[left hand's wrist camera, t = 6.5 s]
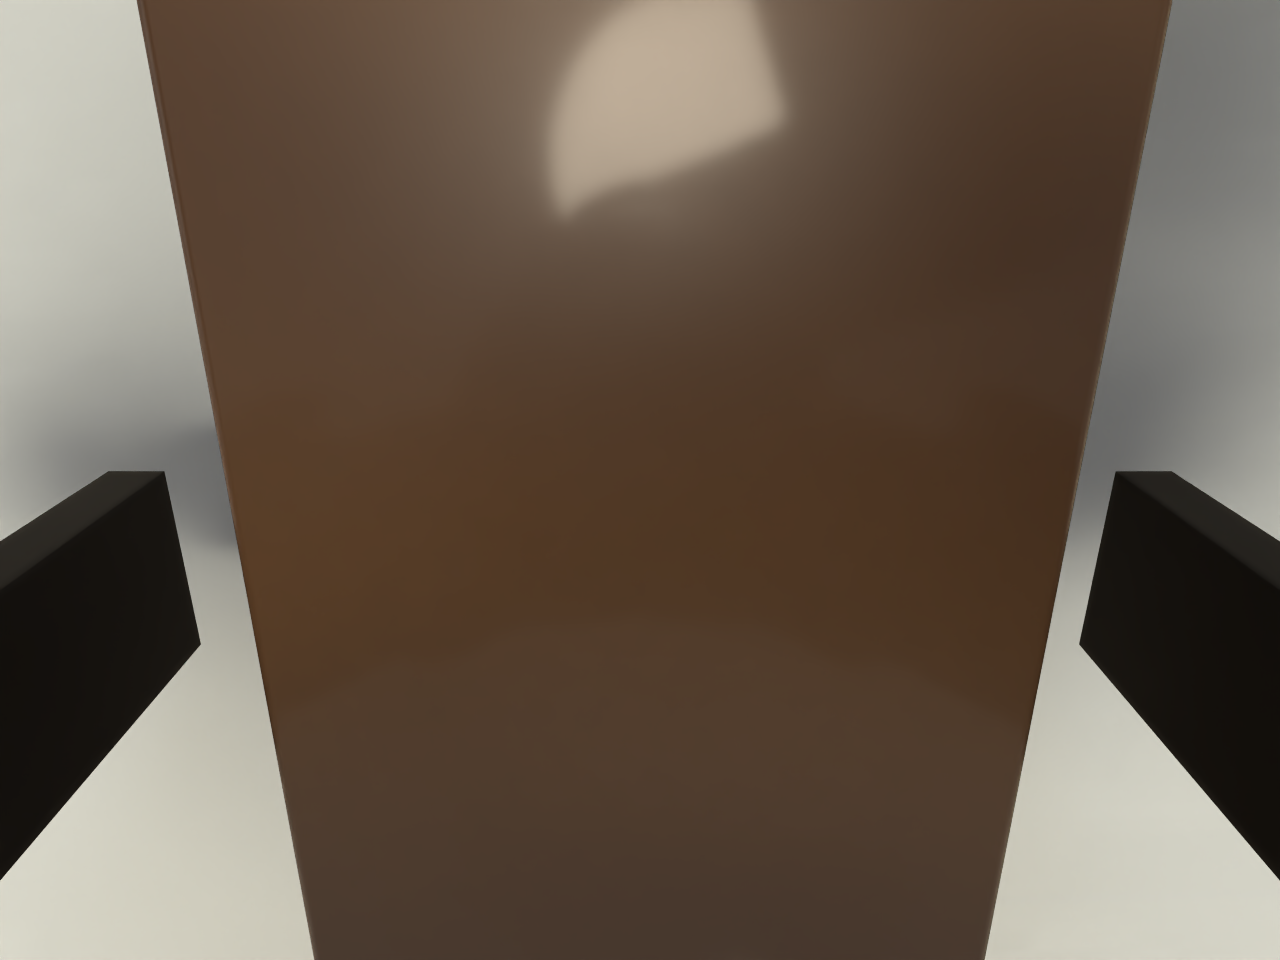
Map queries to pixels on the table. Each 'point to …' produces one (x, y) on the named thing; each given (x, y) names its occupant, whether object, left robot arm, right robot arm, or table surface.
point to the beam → (652, 445)
